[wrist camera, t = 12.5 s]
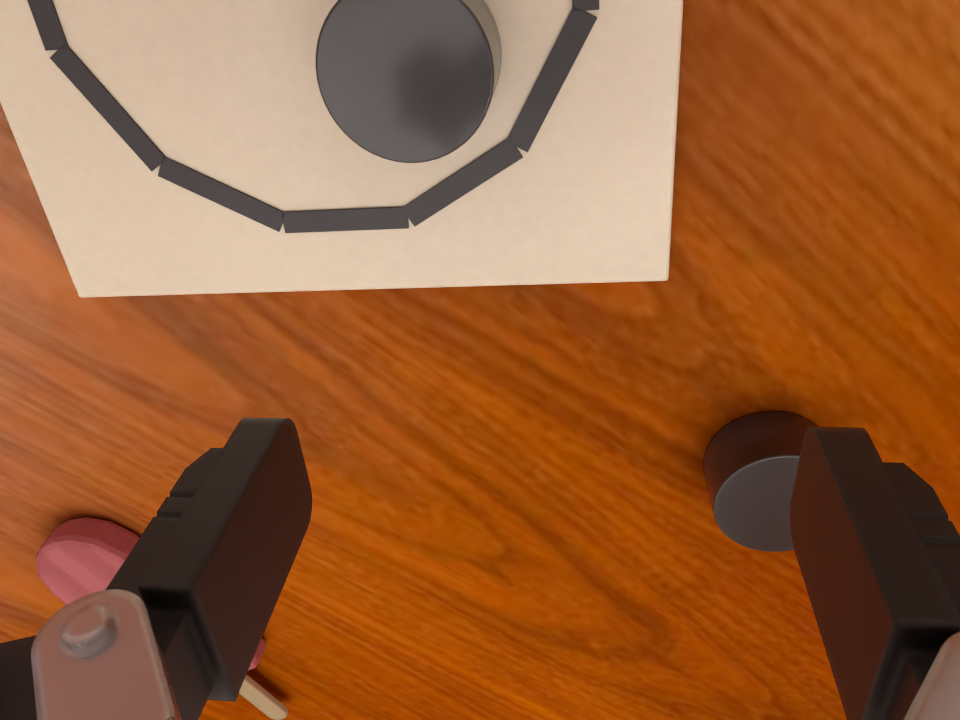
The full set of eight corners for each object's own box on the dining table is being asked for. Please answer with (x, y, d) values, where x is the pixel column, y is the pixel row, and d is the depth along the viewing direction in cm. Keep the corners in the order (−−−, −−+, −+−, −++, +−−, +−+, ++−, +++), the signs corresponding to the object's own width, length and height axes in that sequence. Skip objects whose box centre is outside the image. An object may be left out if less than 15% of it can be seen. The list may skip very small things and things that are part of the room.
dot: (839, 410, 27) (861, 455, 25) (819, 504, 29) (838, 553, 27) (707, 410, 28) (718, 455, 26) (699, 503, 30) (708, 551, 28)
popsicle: (241, 743, 40) (7, 566, 34) (252, 715, 41) (29, 540, 35) (317, 717, 38) (82, 523, 32) (325, 688, 39) (102, 497, 33)
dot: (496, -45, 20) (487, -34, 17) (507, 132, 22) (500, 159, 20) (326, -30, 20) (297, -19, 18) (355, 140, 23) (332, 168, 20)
